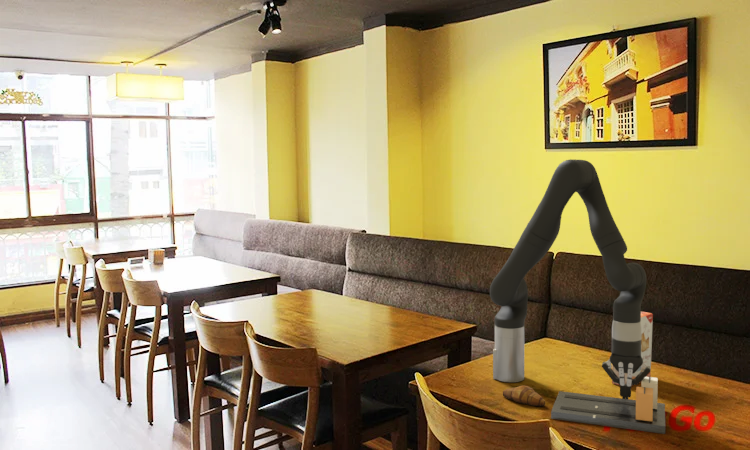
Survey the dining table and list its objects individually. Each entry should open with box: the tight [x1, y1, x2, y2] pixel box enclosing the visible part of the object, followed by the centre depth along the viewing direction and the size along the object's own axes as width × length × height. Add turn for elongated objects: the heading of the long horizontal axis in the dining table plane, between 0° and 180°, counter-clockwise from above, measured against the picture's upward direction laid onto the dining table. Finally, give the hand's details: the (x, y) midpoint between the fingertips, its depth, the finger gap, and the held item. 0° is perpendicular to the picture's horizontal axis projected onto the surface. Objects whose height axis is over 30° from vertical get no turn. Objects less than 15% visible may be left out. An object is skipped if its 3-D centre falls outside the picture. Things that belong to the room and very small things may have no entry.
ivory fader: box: [640, 376, 659, 409], centre depth 175 cm, size 4×5×7 cm
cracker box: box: [611, 311, 654, 387], centre depth 200 cm, size 14×6×21 cm, turn 130°
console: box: [550, 390, 666, 435], centre depth 176 cm, size 28×17×2 cm, turn 67°
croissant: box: [502, 384, 546, 407], centre depth 186 cm, size 14×7×5 cm, turn 47°
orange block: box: [635, 386, 653, 421], centre depth 167 cm, size 4×5×7 cm
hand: (625, 398), depth 178 cm, fingers closed
